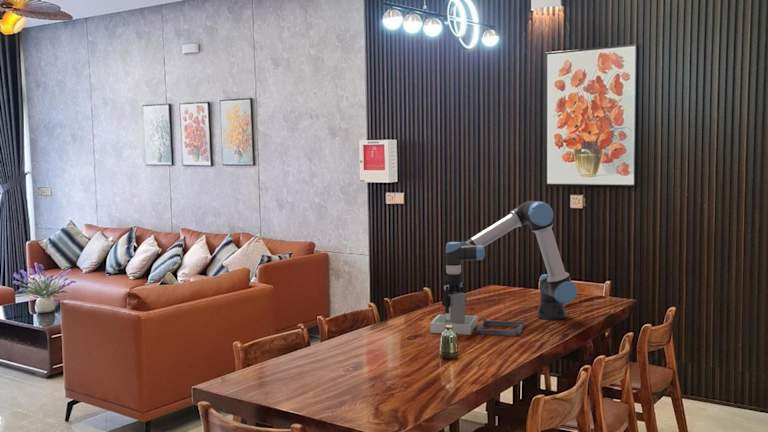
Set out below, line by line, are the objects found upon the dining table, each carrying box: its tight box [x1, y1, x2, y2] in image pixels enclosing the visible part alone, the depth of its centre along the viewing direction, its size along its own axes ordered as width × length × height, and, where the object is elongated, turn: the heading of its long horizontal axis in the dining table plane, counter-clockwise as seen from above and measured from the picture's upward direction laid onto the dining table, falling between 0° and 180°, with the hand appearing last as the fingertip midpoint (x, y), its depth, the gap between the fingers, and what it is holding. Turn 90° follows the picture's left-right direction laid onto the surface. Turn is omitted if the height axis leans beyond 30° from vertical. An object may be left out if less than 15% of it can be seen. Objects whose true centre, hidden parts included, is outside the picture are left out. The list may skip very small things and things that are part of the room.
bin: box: [429, 314, 479, 336], centre depth 378 cm, size 20×20×5 cm
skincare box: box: [444, 292, 467, 324], centre depth 377 cm, size 8×7×16 cm
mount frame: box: [476, 316, 525, 337], centre depth 373 cm, size 21×21×4 cm
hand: (454, 317), depth 378 cm, fingers closed on skincare box, 8 cm apart
